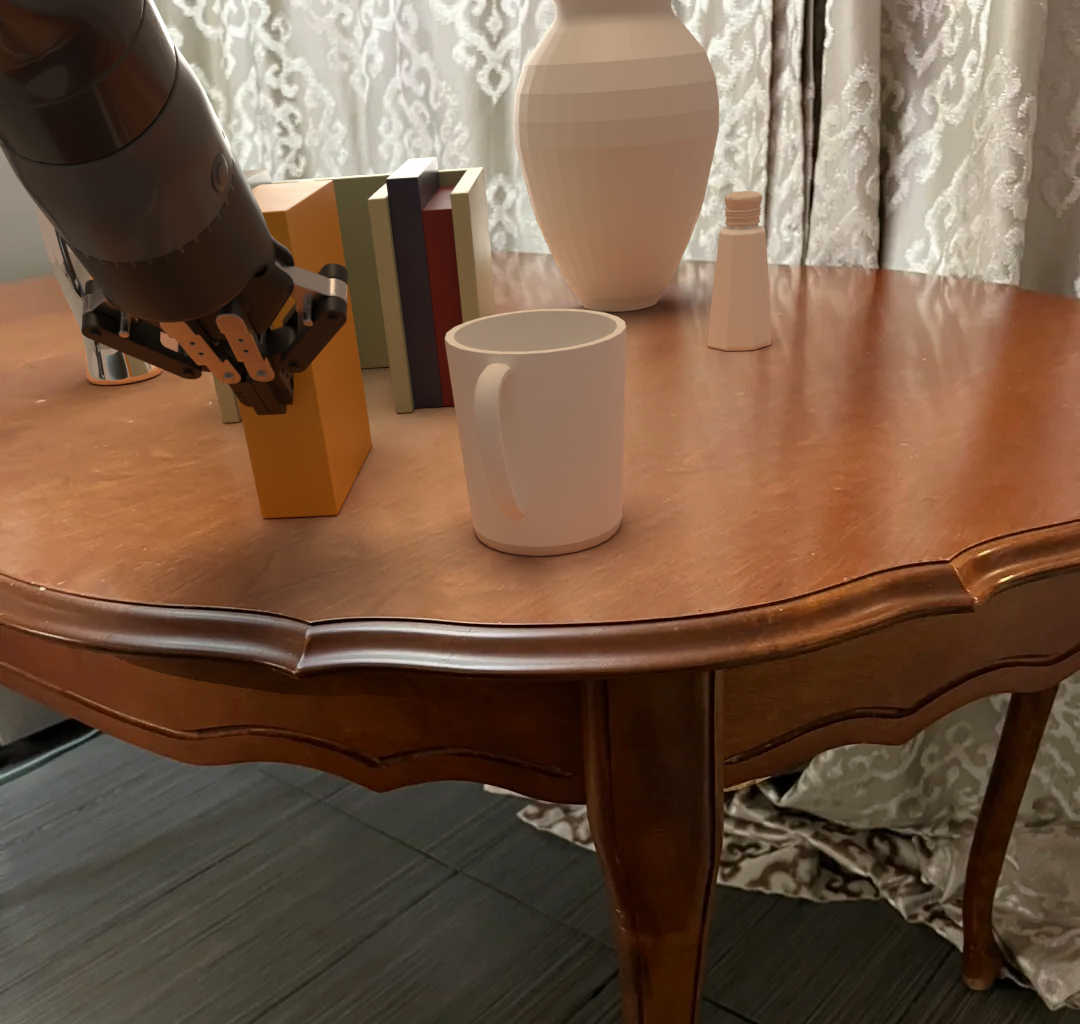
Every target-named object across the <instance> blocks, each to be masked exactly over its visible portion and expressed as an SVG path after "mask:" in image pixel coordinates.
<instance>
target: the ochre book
mask: <svg viewBox="0 0 1080 1024" xmlns="http://www.w3.org/2000/svg"><path fill="white" fill-rule="evenodd" d="M251 190H252V192H253V194H254V196H255V198H256V200H257V202H258V204H259V206H260V209H261V211H262V214H263V216H264V219H265V222H266V224H267V227H268V230H269V233H270V234H271V236H272V237H273V238H274V239H275V240H276V241H278V242H279V243H280V244H282V245H283V246H285V247H286V248H287V249H288V250H289V251H290V253H291V254H292V256H293V259H294V263H295V266H296V267H299V268H302V269H305V270H308V271H311V272H314V273H316V274H318V272H319V271H320V270H321V268H322V267H323V266H324V265H326V264H332V263H333V264H339V265H342V266H344V267H345V268H346V265H345V258H344V251H343V245H342V238H341V231H340V224H339V218H338V211H337V204H336V197H335V191H334V184H333V180H322V181H307V182H292V183H277V184H262V185H259V186H257V187H255V188H253V189H251ZM294 304H295V299H294V298H293V297H291V296H290V297H289V299H288V300H287V302H286V303H285V305H284V306H283V308H282V309H281V311H280V312H279V314H278V316H277V317H276V319H275V320H274V322H273V323H272V324H273V326H274V329H277V328H280V327H282V325H283V319H284V317H285V316H286V315H287V313H288V312H289V311H290V309H291V308H292V307H293V305H294ZM293 374H294V399H293V404H292V405H287V410H286V414H276V415H257V413H256V412H255V410H254V409H253V407H247V406H245V405H244V404H242V403H241V402H240V401H239V399H238V398H237V399H238V404H239V409H240V413H241V418H242V419H241V422H242V427H243V432H244V437H245V442H246V447H247V450H248V456H249V460H250V466H251V471H252V474H253V479H254V484H255V489H256V494H257V499H258V503H259V510H260V513H261V517H262V519H281V518H283V519H285V518H304V517H325V516H326V517H327V516H338V515H339V513H340V511H341V509H342V507H343V506H344V503H345V501H346V500H347V497H348V495H349V493H350V492H351V489H352V487H353V485H354V483H355V481H356V479H357V478H358V475H359V473H360V472H361V469H362V467H363V466H364V463H365V461H366V459H367V457H368V456H369V453H370V451H371V450H372V447H373V440H372V433H371V427H370V421H369V414H368V408H367V407H368V406H367V401H366V394H365V387H364V380H363V379H364V378H363V374H362V368H361V366H360V359H359V352H358V346H357V339H356V332H355V326H354V319H353V312H352V305H351V299H350V292H349V285H348V290H347V321H346V323H345V324H344V325H343V326H342V328H341V329H340V330H339V331H338V332H337V333H336V335H335V336H334V337H333V338H332V339H331V341H330V342H329V343H328V344H327V345H326V346H325V348H324V349H323V350H322V351H321V352H320V353H319V355H318V356H317V357H316V358H315V359H314V360H313V362H312V363H311V364H310V365H309V366H308V367H307V369H306V370H305V371H303V372H300V373H293Z"/></svg>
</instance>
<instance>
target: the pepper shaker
mask: <svg viewBox="0 0 1080 1024" xmlns="http://www.w3.org/2000/svg"><path fill="white" fill-rule="evenodd" d="M762 201H763V195H762V193H760V192H758V191H754V190H741V191H740V190H739V191H733V192H730V193H727V194H726V195H725V196H724V204H725V209H724V211H725V212H724V214H725V215H724V217H725V221H724V222H725V223H724V224H725V225H726V227H722V228H720V229H719V232H718V241H717V249H716V260H715V267H714V278H713V286H712V295H711V304H710V313H709V322H708V333H707V347H708V348H710V349H711V348H712V349H715V350H720V351H726V352H737V351H738V352H739V351H740V352H741V351H754V350H759V349H762V348H765V347H768V346H770V345H771V344H772V329H771V328H772V327H771V310H770V309H771V308H770V289H769V287H770V286H769V269H768V268H769V267H768V248H767V247H768V246H767V233H766V228H765V227H764V226H763V225H759V224H760V222H761V220H760V217H761V209H762V208H761V204H762Z"/></svg>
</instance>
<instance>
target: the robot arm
mask: <svg viewBox="0 0 1080 1024" xmlns="http://www.w3.org/2000/svg"><path fill="white" fill-rule="evenodd" d="M0 149H1V151H2V152H3V155H4V156H5V158H6V161H7V163H8V164H9V166H10V168H11V169H12V171H13V173H14V175H15V177H16V178H17V179H18V181H19V182H20V184H21V185H22V187H23V189H24V190H25V191H26V193H27V194H28V196H29V197H30V198H31V199H32V201H33V202H34V204H35V203H36V205H37V206H38V207H39V208H40V210H41V211H42V212H43V214H44V215H45V216H46V218H47V219H48V220H49V222H50V223H51V224H52V225H53V227H54V228H55V229H56V231H57V232H58V234H59V235H60V236H61V237H62V239H63V240H64V241H65V243H66V244H67V245H68V247H69V248H70V249H71V251H72V252H73V253H74V254H75V256H76V257H77V258H78V260H79V261H80V262H81V264H82V265H83V266H84V268H85V269H86V270H87V272H88V273H89V274H90V275H91V277H92V278H93V280H88V281H87V282H86V283H85V292H84V297H83V308H82V329H81V332H82V334H83V335H84V336H85V337H87V338H89V339H91V340H93V341H96V342H98V343H101V344H103V345H105V346H108V347H110V348H113V349H115V350H117V351H120V352H122V353H125V354H127V355H129V356H132V357H134V358H137V359H139V360H141V361H144V362H146V363H149V364H151V365H153V366H156V367H158V368H161V369H163V370H162V371H164V372H165V371H166V372H168V373H170V374H173V375H176V376H178V377H180V378H182V379H186V380H198V379H200V378H201V377H202V374H203V373H202V372H205V373H211V374H212V373H213V375H214V376H215V377H216V378H217V379H218V380H219V381H221V382H223V383H227V384H229V386H230V387H231V389H232V390H233V392H234V393H235V395H236V396H237V398H238V399H239V401H240V402H241V403H242V404H244V405H245V406H247V407H253V409H254V410H255V412H256V413H257V415H276V414H286V410H287V405H292V404H293V399H294V374H293V373H300V372H303V371H305V370H306V369H307V367H308V366H309V365H310V364H311V363H312V362H313V360H314V359H315V358H316V357H317V356H318V355H319V353H320V352H321V351H322V350H323V349H324V348H325V346H326V345H327V344H328V343H329V342H330V341H331V339H332V338H333V337H334V336H335V335H336V333H337V332H338V331H339V330H340V329H341V328H342V326H343V325H344V324H345V323H346V321H347V290H348V271H347V269H346V268H345V267H344V266H342V265H339V264H333V263H332V264H326V265H324V266H323V267H322V268H321V270H320V271H319V272H318V274H316V273H314V272H311V271H308V270H305V269H302V268H299V267H296V266H295V263H294V259H293V256H292V254H291V253H290V251H289V250H288V249H287V248H286V247H285V246H283V245H282V244H280V243H279V242H278V241H276V240H275V239H274V238H273V237H272V236H271V234H270V233H269V230H268V227H267V224H266V222H265V219H264V216H263V214H262V211H261V209H260V206H259V204H258V202H257V200H256V198H255V196H254V194H253V192H252V190H251V187H250V185H249V183H248V181H247V179H246V177H245V175H244V173H243V171H242V170H243V168H242V167H241V165H240V163H239V159H238V158H237V156H236V154H235V151H234V150H233V148H232V146H231V143H230V141H229V139H228V137H227V135H226V133H225V130H224V129H223V127H222V125H221V123H220V120H219V118H218V116H217V114H216V112H215V109H214V107H213V106H212V103H211V101H210V99H209V97H208V95H207V93H206V90H205V88H204V87H203V84H202V83H201V82H200V79H199V78H198V76H197V75H196V73H195V72H194V70H193V68H192V67H191V66H190V64H189V63H188V61H187V60H186V58H185V57H184V55H183V54H182V52H181V51H180V50H179V48H178V46H177V45H176V43H175V41H174V39H173V37H172V36H171V34H170V32H169V31H168V28H167V26H166V24H165V22H164V20H163V18H162V16H161V14H160V11H159V10H158V8H157V6H156V3H155V1H154V0H0ZM290 296H291V297H293V298H294V299H295V304H294V305H293V307H292V308H291V309H290V311H289V312H288V313H287V315H286V316H285V317H284V319H283V325H282V327H280V328H277V329H274V326H273V324H272V323H273V322H274V320H275V319H276V317H277V316H278V314H279V312H280V311H281V309H282V308H283V306H284V305H285V303H286V302H287V300H288V299H289V297H290ZM161 334H165V335H167V337H169V339H175V341H176V342H177V351H176V350H174V349H171V348H169V347H166V346H165V345H164V344H163V343H162V341H161ZM213 375H212V376H213Z"/></svg>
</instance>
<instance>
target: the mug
mask: <svg viewBox="0 0 1080 1024" xmlns="http://www.w3.org/2000/svg"><path fill="white" fill-rule="evenodd" d="M445 346H446V352H447V359H448V365H449V372H450V379H451V385H452V392H453V398H454V405H455V406H454V410H455V417H456V423H457V424H456V425H457V430H458V437H459V443H460V450H461V456H462V463H463V469H464V475H465V476H464V477H465V481H466V488H467V490H466V491H467V495H468V501H469V509H470V515H471V523H472V529H473V531H474V534H475V535H476V536H477V537H476V538H478V539H479V541H480V542H481V543H482V544H483V545H486V546H487V547H488V548H490V549H493V550H496V551H499V552H501V553H507V554H512V555H518V556H530V557H531V556H533V557H545V556H559V555H565V554H570V553H576V552H577V553H578V552H580V551H584V550H587V549H590V548H594V547H596V546H598V545H600V544H602V543H604V542H606V541H608V540H609V539H610V538H612V537H613V536H614V535H615V534H616V533H617V532H618V529H619V528H620V526H621V525H622V522H623V499H624V498H623V495H624V491H623V490H624V457H625V456H624V452H625V451H624V450H625V449H624V448H625V411H626V409H625V408H626V407H625V406H626V403H625V402H626V367H627V366H626V364H627V361H626V360H627V359H626V358H627V325H626V322H625V320H624V319H622V318H621V317H619V316H617V315H614V314H611V313H609V312H604V311H594V310H589V309H580V308H579V309H578V308H541V309H539V308H538V309H525V310H524V309H523V310H517V311H509V312H502V313H496V315H491V316H486V317H482V318H478V319H475V320H471V321H468V322H465V323H463V324H460V325H458V326H456V327H454V328H452V329H451V330H450V331H448V332H447V333H446V336H445Z"/></svg>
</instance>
